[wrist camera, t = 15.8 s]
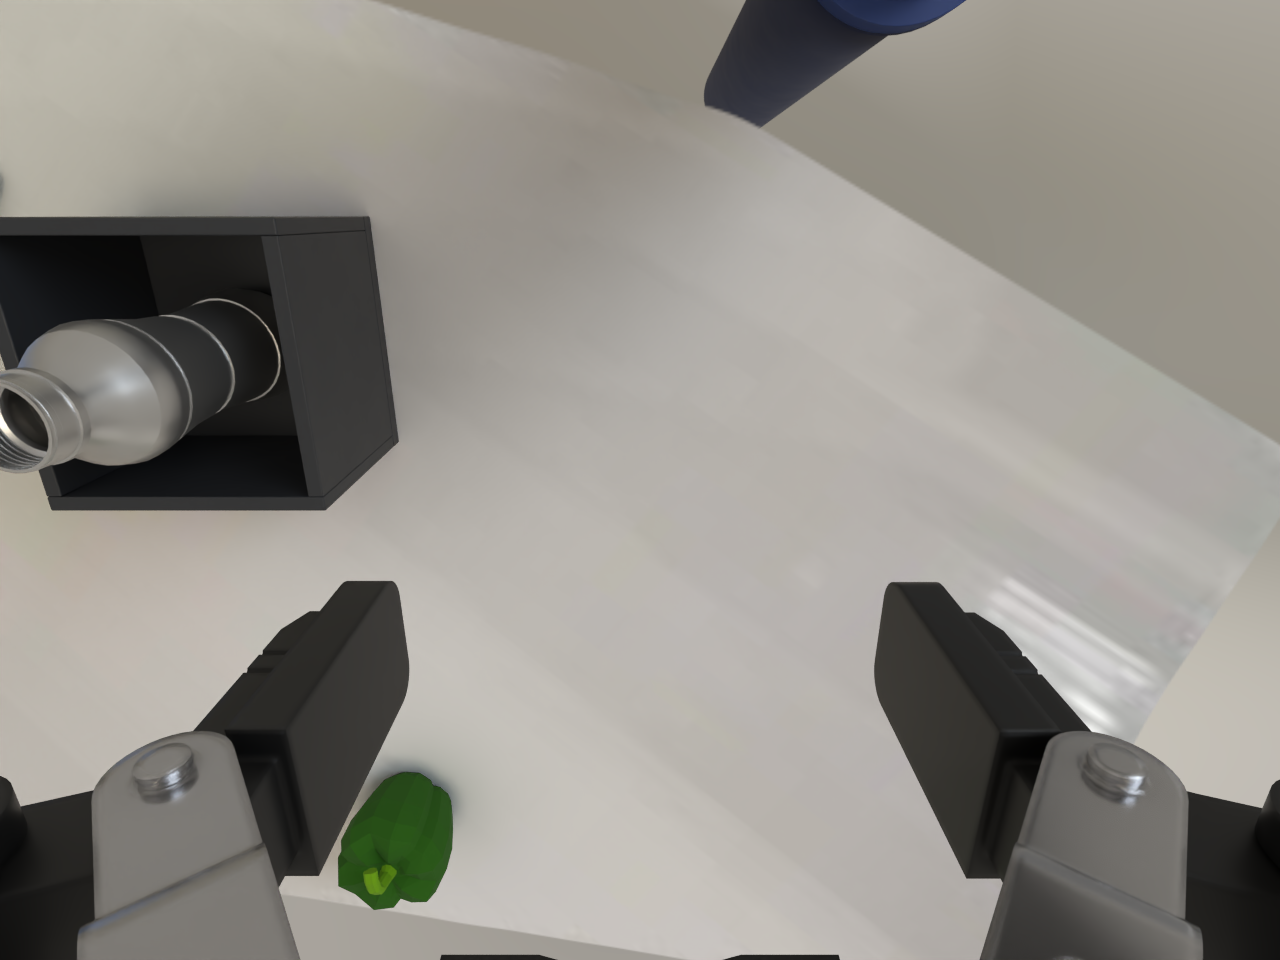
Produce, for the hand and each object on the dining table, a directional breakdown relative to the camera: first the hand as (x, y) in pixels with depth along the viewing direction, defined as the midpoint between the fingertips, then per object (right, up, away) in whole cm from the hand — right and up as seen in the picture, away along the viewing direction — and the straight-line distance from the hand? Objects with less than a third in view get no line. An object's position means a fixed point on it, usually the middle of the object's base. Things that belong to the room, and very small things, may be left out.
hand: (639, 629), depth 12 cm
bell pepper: (-19, -24, +48) cm, 57 cm away
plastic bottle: (-24, +12, +33) cm, 43 cm away
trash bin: (-24, +12, +34) cm, 43 cm away
